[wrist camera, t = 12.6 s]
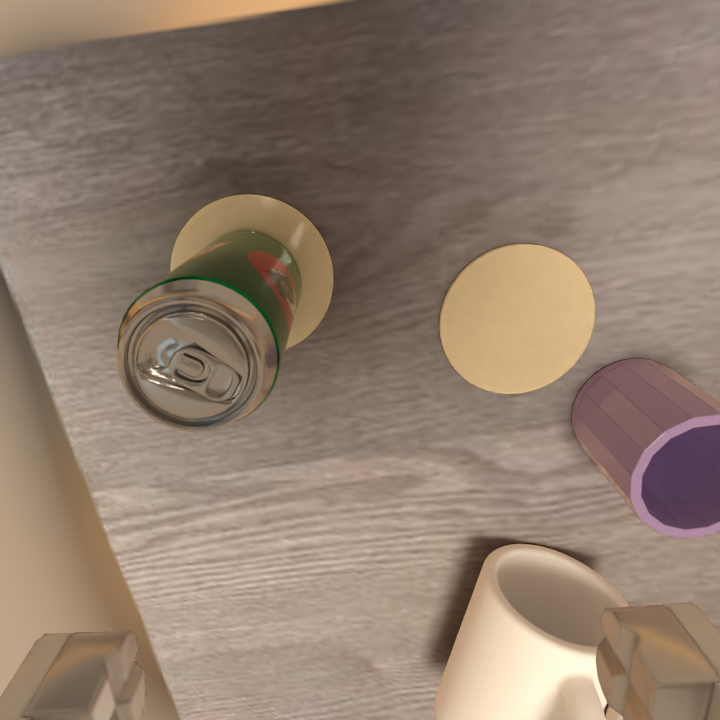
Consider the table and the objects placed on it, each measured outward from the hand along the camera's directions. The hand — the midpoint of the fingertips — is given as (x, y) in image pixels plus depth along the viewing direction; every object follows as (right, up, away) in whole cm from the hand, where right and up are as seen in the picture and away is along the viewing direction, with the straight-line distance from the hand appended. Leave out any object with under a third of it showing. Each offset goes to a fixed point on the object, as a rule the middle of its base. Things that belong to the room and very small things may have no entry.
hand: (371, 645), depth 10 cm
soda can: (-6, +9, +18) cm, 21 cm away
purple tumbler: (+15, +2, +22) cm, 26 cm away
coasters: (+1, +8, +19) cm, 21 cm away
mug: (+9, -11, +26) cm, 30 cm away
